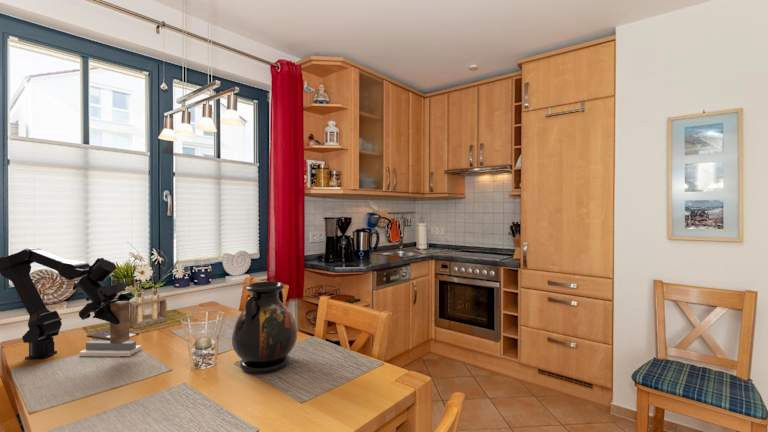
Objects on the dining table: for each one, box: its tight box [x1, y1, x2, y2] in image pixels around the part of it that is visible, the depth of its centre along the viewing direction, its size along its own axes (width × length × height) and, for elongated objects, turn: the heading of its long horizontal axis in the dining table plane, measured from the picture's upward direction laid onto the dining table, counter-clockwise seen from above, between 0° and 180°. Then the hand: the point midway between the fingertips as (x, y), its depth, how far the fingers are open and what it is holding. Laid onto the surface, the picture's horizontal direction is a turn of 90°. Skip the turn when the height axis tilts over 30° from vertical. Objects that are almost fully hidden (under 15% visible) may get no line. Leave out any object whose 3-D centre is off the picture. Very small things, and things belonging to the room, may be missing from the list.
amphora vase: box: [231, 281, 298, 375], centre depth 129 cm, size 22×22×28 cm
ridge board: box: [79, 340, 142, 357], centre depth 139 cm, size 18×7×4 cm, turn 89°
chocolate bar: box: [86, 328, 139, 341], centre depth 158 cm, size 9×1×18 cm
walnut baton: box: [109, 301, 130, 344], centre depth 133 cm, size 4×4×14 cm
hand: (123, 321), depth 133 cm, fingers closed on walnut baton, 4 cm apart
